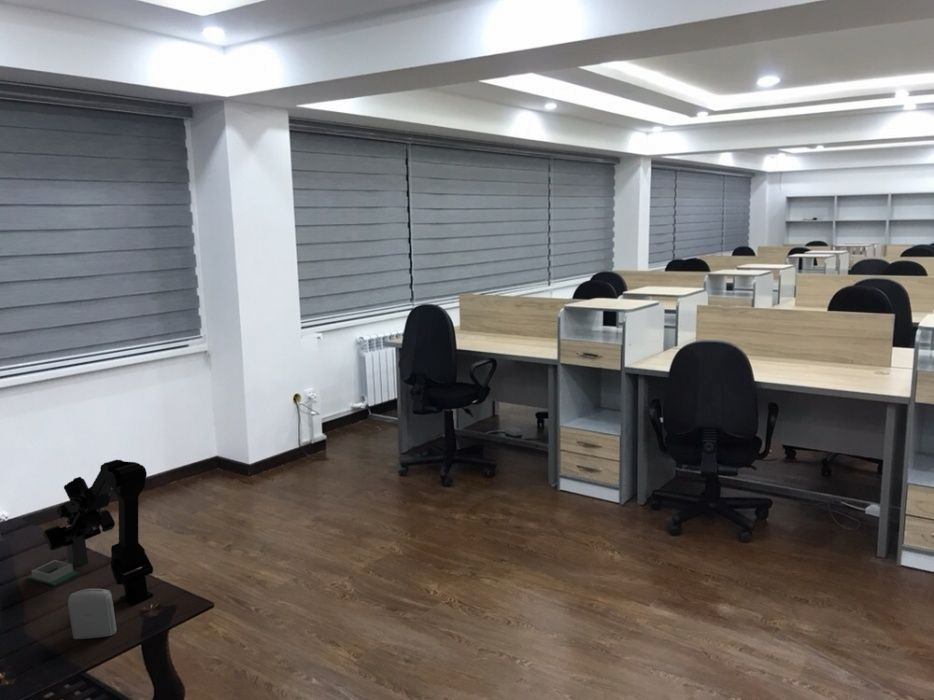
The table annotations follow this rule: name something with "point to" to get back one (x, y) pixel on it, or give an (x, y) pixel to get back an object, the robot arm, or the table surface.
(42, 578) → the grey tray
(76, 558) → the plug
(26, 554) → the table surface
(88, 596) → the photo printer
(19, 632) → the table surface
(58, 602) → the table surface
